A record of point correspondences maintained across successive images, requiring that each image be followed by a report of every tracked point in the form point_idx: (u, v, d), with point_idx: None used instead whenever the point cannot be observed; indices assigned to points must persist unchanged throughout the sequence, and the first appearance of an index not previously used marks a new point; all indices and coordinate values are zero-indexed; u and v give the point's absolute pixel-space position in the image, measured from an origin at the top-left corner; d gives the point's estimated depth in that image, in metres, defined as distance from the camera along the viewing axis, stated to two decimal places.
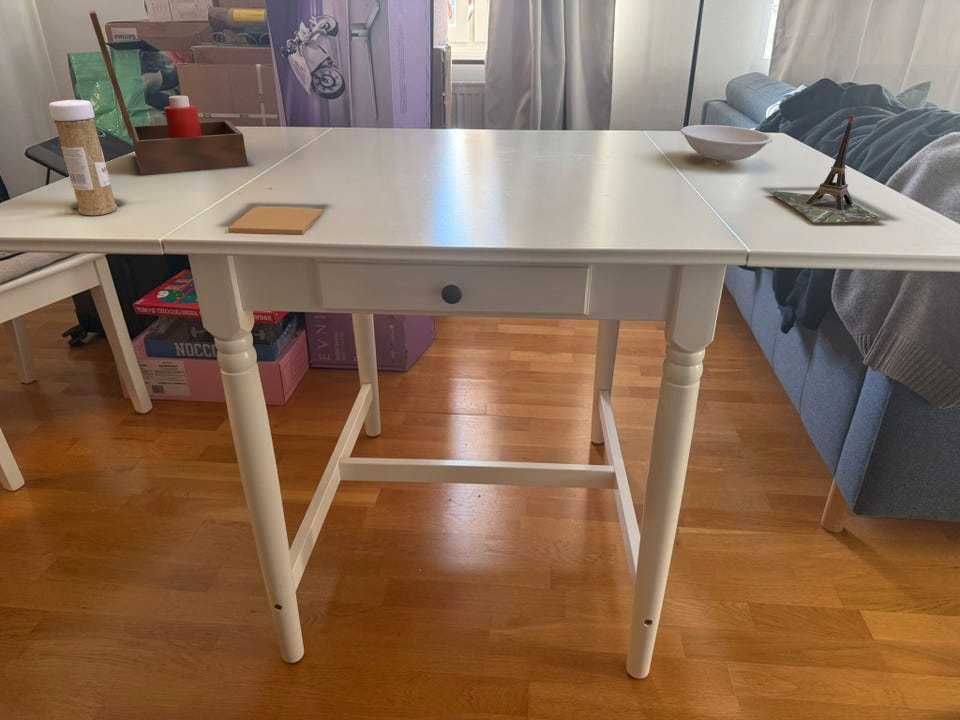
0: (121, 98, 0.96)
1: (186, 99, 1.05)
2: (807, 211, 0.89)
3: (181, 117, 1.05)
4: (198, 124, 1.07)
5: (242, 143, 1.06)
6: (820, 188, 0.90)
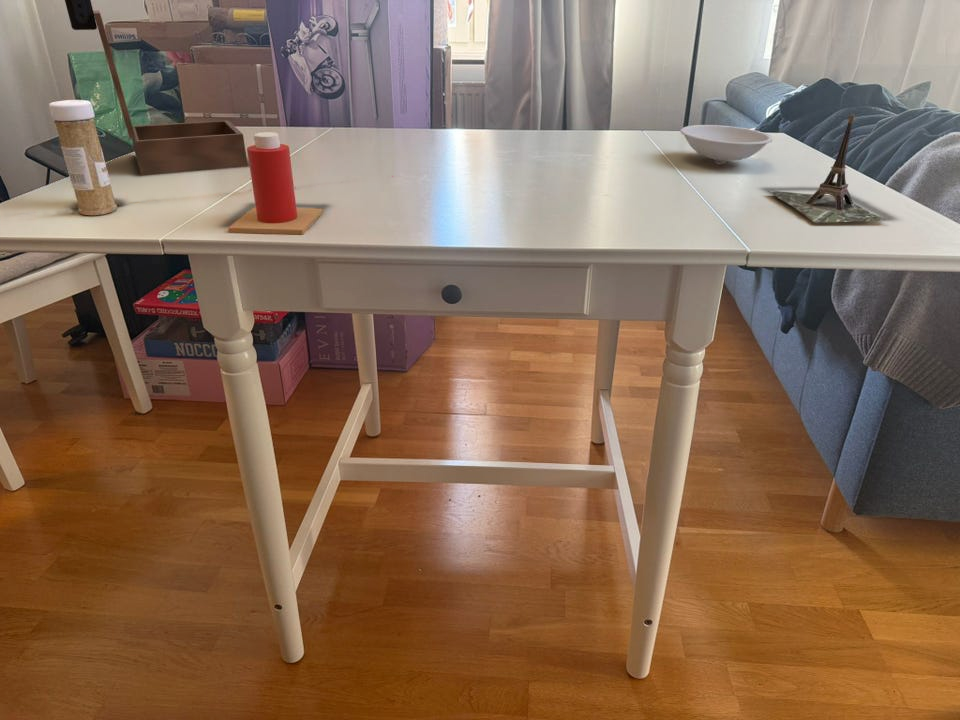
0: (122, 98, 0.96)
1: (277, 137, 0.79)
2: (807, 211, 0.89)
3: (271, 162, 0.78)
4: (290, 170, 0.81)
5: (242, 143, 1.06)
6: (820, 188, 0.90)
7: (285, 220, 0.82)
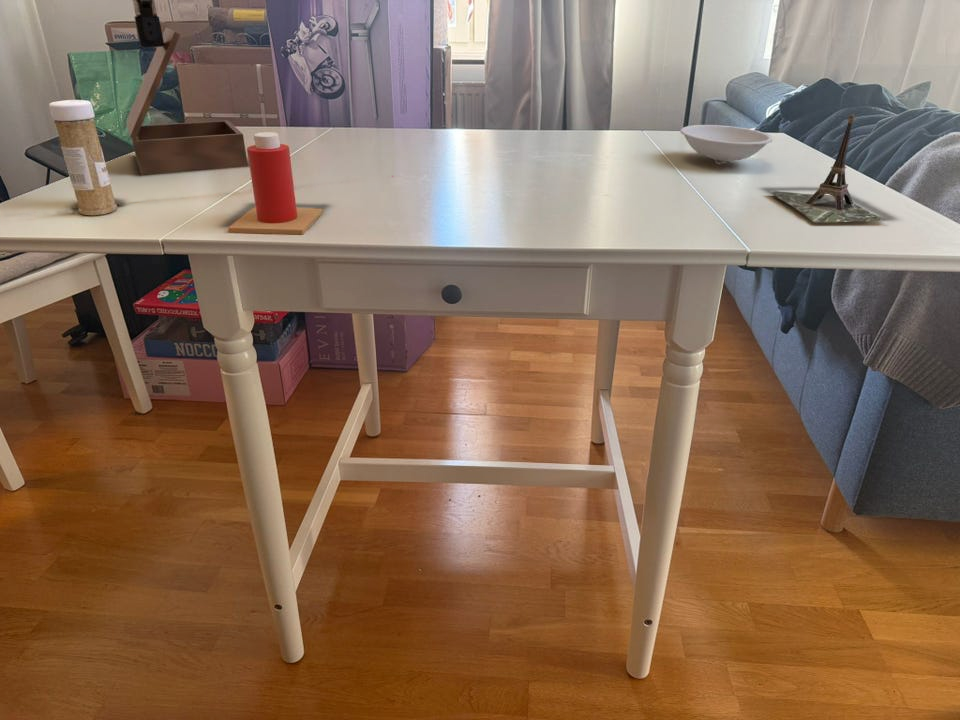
0: (148, 104, 0.98)
1: (277, 137, 0.79)
2: (807, 211, 0.89)
3: (271, 162, 0.78)
4: (290, 170, 0.81)
5: (242, 143, 1.06)
6: (820, 188, 0.90)
7: (285, 220, 0.82)
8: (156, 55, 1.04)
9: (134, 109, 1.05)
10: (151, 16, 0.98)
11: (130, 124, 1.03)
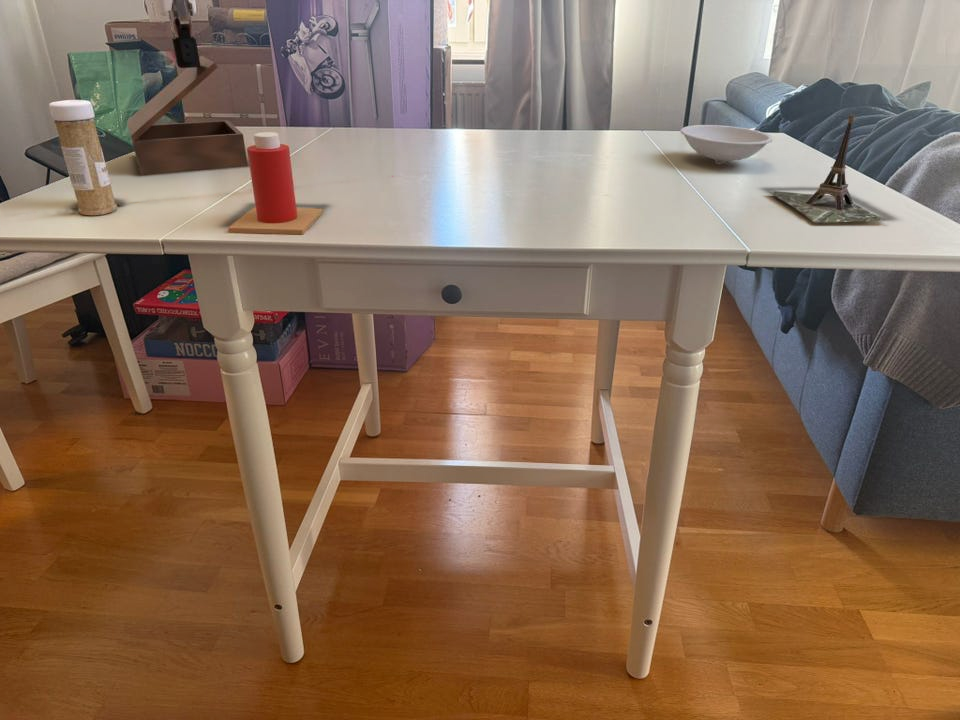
0: (162, 114, 0.99)
1: (277, 137, 0.79)
2: (807, 211, 0.89)
3: (271, 162, 0.78)
4: (290, 170, 0.81)
5: (242, 143, 1.06)
6: (820, 188, 0.90)
7: (285, 220, 0.82)
8: (183, 75, 1.07)
9: (141, 113, 1.06)
10: (189, 38, 1.01)
11: (133, 125, 1.03)
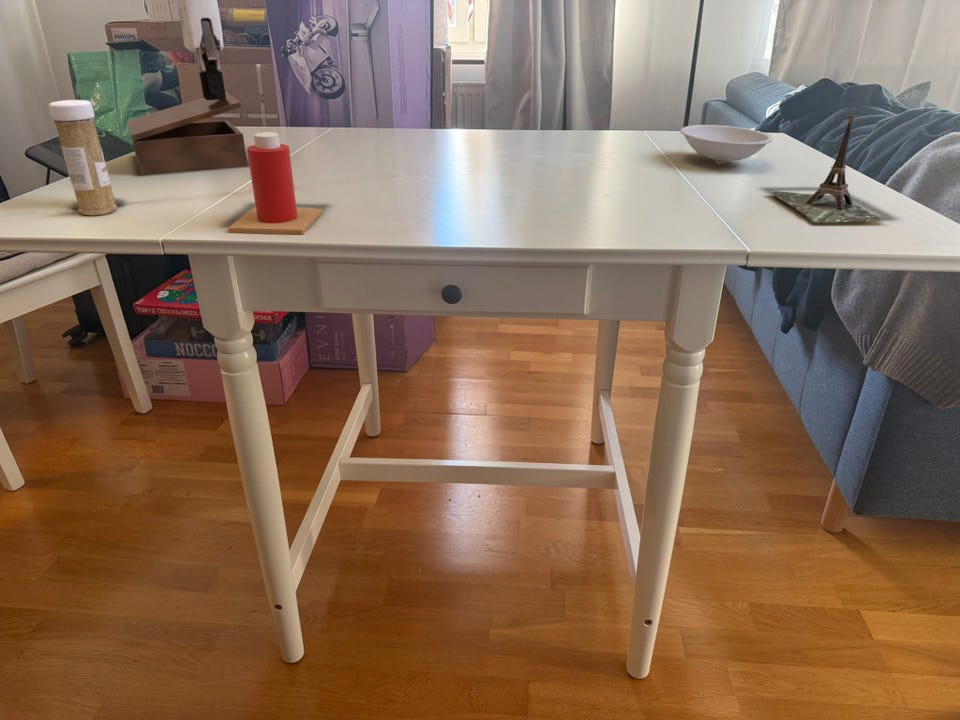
0: (170, 127, 1.00)
1: (277, 137, 0.79)
2: (807, 211, 0.89)
3: (271, 162, 0.78)
4: (290, 170, 0.81)
5: (242, 143, 1.06)
6: (820, 188, 0.90)
7: (285, 220, 0.82)
8: (201, 101, 1.10)
9: (147, 119, 1.06)
10: (215, 72, 1.05)
11: (135, 127, 1.03)
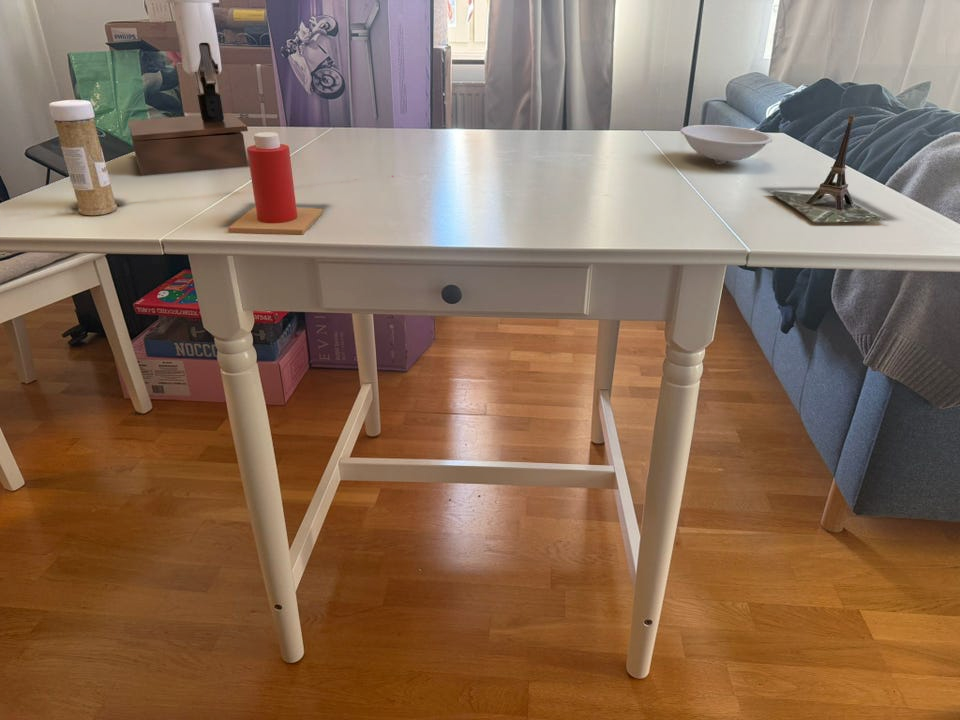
0: (173, 136, 1.01)
1: (277, 137, 0.79)
2: (807, 211, 0.89)
3: (271, 162, 0.78)
4: (290, 170, 0.81)
5: (242, 143, 1.06)
6: (820, 188, 0.90)
7: (285, 220, 0.82)
8: None
9: (149, 123, 1.07)
10: (213, 95, 1.06)
11: (137, 128, 1.04)
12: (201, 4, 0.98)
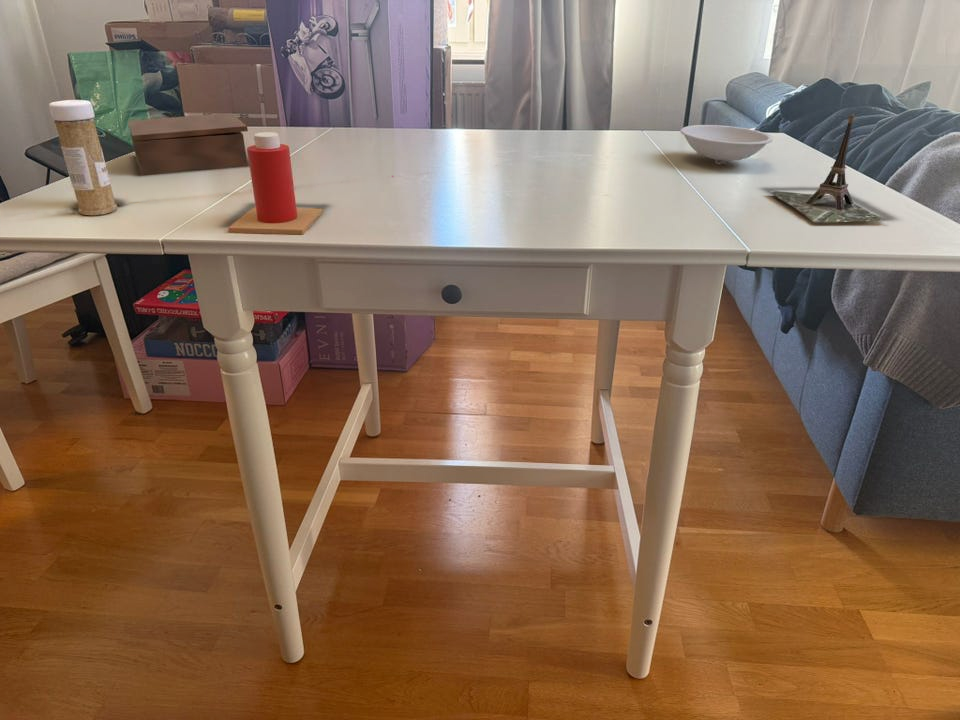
0: (173, 136, 1.01)
1: (277, 137, 0.79)
2: (807, 211, 0.89)
3: (271, 162, 0.78)
4: (290, 170, 0.81)
5: (242, 143, 1.06)
6: (820, 188, 0.90)
7: (285, 220, 0.82)
8: (207, 118, 1.11)
9: (149, 123, 1.07)
10: None
11: (137, 128, 1.04)
12: None
